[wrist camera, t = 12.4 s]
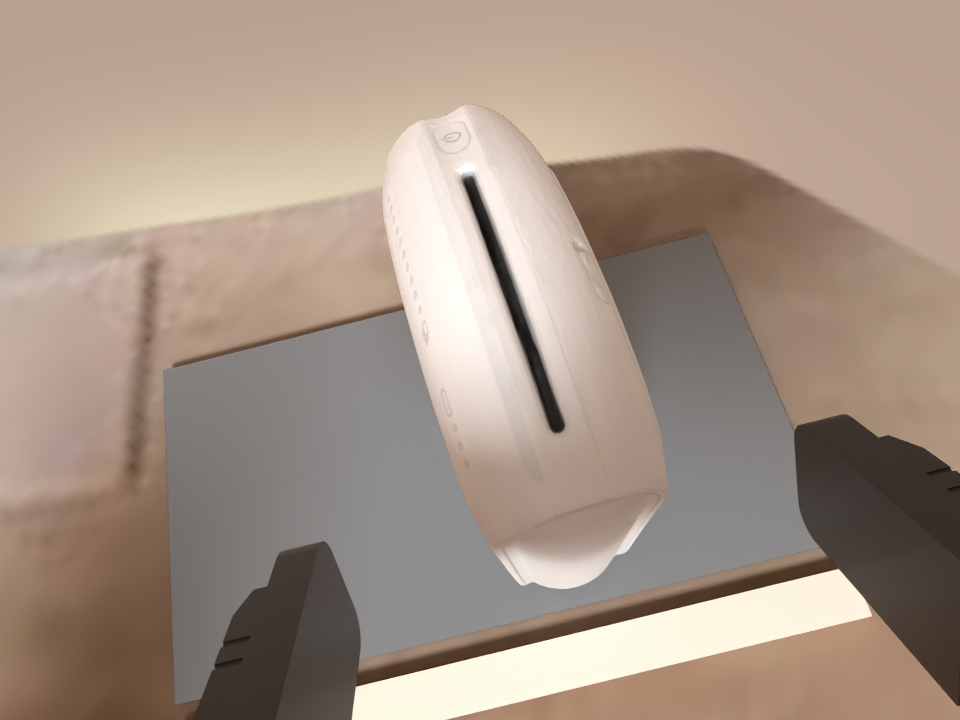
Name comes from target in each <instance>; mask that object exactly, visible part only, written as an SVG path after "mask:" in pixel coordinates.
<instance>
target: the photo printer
mask: <svg viewBox="0 0 960 720" xmlns="http://www.w3.org/2000/svg"><path fill="white" fill-rule="evenodd" d="M382 198H383V214H384V220H385V227H386V232H387V238H388V243H389V247H390V252H391V256H392V260H393V264H394V269H395V273H396V277H397V281H398V285H399V289H400V293H401V297H402V301H403V305H404V308H405V312H406V316H407V319H408V323H409V327H410V330H411V334H412V337H413V341H414V344H415V348H416V351H417V355H418V358H419V362H420V365H421V368H422V372H423V375H424V378H425V382H426V385H427V388H428V391H429V394H430V398H431V401H432V404H433V407H434V411H435V414H436V417H437V420H438V423H439V426H440V429H441V432H442V435H443V438H444V441H445V444H446V447H447V450H448V453H449V456H450V459H451V462H452V465H453V468H454V470H455V473H456V476H457V479H458V482H459V484H460V487H461V489H462V492H463V494H464V497H465V499H466V501H467V504H468V506H469V508H470V510H471V513H472V515H473V516H474V518H475V520H476V522H477V524H478V526H479V527H480V529H481V531H482V533H483V535H484V536H485V538H486V540H487V542H488V543H489V545H490V547H491V548H492V550H493V551H494V553H495V554H496V555H497V557H498V558H499V559H500V561H501V562H502V563H503V565H504V566H505V567H506V569H507V570H508V571H509V573H510V574H511V575H512V576H513V577H514V579H515V580H516V581H517V582H518V583H519V584H520V585H527V584H529V583H532V582H535V583H537V584H539V585H542V586H545V587H548V588H556V589H569V588H574V587H579V586H581V585H584V584H587V583H588V582H590V581H592V580H594V579H595V578H597V577H598V576H599V575H600V574H601V573H602V572H603V571H604V570H605V569H606V567H607V566H608V565H609V563H610V562H611V560H612V559H613V557H614V556H615V555H619V554H623V553H625V552H627V551H628V550H629V548H630V547H631V546H632V544H633V542H634V541H635V539H636V538H637V536H638V535H639V534H640V532H641V531H642V530H643V528H644V527H645V525H646V524H647V523H648V521H649V520H650V519H651V517H652V516H653V515H654V513H655V512H656V511H657V509H658V508H659V506H660V505H661V504H662V502H663V501H664V500H665V498H666V497H667V494H668V482H667V472H666V466H665V460H664V454H663V443H662V437H661V433H660V428H659V425H658V422H657V418H656V415H655V412H654V408H653V405H652V402H651V399H650V396H649V393H648V390H647V387H646V384H645V381H644V378H643V375H642V372H641V370H640V367H639V364H638V361H637V359H636V356H635V353H634V351H633V348H632V346H631V343H630V340H629V337H628V335H627V332H626V330H625V327H624V324H623V322H622V319H621V317H620V314H619V312H618V309H617V307H616V304H615V302H614V299H613V297H612V294H611V292H610V290H609V287H608V285H607V283H606V280H605V278H604V276H603V274H602V271H601V269H600V267H599V264H598V262H597V260H596V257H595V255H594V253H593V250H592V248H591V246H590V244H589V242H588V240H587V237H586V235H585V233H584V231H583V229H582V226H581V224H580V222H579V220H578V218H577V216H576V214H575V212H574V210H573V208H572V206H571V204H570V202H569V200H568V198H567V196H566V194H565V192H564V191H563V189H562V187H561V185H560V183H559V181H558V179H557V177H556V176H555V174H554V172H553V171H552V170H551V169H550V168H549V167H548V166H547V164H546V163H545V161H544V159H543V158H542V156H541V155H540V153H539V152H538V151H537V150H536V148H535V147H534V146H533V144H532V143H531V142H530V141H529V140H528V138H527V137H526V136H525V135H524V134H523V133H522V132H521V131H520V130H519V129H518V128H517V127H516V126H514V125H513V124H512V123H511V122H510V121H509V120H508V119H506V118H505V117H504V116H503V115H501V114H499V113H497V112H495V111H493V110H491V109H488V108H485V107H481V106H478V105H471V104H468V105H463V106H461V107H460V108H458V109H457V110H455V111H453V112H452V113H449V114H447V115H445V116H442V117H438V118H434V119H421V120H419V121H417V122H416V123H414V124H413V125H411V126H410V127H409V128H408V129H407V130H406V131H405V132H404V133H403V134H402V135H401V137H400V138H399V139H398V140H397V142H396V143H395V145H394V147H393V148H392V150H391V152H390V154H389V156H388V159H387V162H386V166H385V173H384V182H383V196H382Z"/></svg>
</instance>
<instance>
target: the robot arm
mask: <svg viewBox="0 0 960 720" xmlns="http://www.w3.org/2000/svg"><path fill="white" fill-rule="evenodd" d="M794 446H795V461H796V476H797V491H798V503H799V509H800V513H801V516H802V519H803V522H804V524H805V526H806V528H807V530H808V532H809V534H810V535H811V537H812V538H813V540H814V541H815V542H816V543H817V544H818V546H819V547H820V548H821V549H822V550H823V551H824V552H825V554H826V555H827V556H828V557H829V558H830V559H831V561H832V562H833V563H834V564H835V565H836V566H837V568H838V569H839V570H840V571H841V572H842V573H843V574H844V576H845V577H846V578H847V579H848V580H849V581H850V583H851V584H852V585H853V586H854V587H855V588H856V589H857V591H858V592H859V593H860V594H861V595H862V596H863V598H864V599H865V600H866V601H867V602H868V603H869V604H870V606H871V607H872V608H873V609H874V610H875V611H876V613H877V614H878V615H879V616H880V617H881V618H882V619H883V621H884V622H885V623H886V624H887V625H888V626H889V628H890V629H891V630H892V631H893V632H894V633H895V634H896V636H897V637H898V638H899V639H900V640H901V641H902V643H903V644H904V645H905V646H906V647H907V648H908V650H909V651H910V652H911V653H912V654H913V655H914V656H915V658H916V659H917V660H918V661H919V662H920V663H921V665H922V666H923V667H924V668H925V669H926V670H927V671H928V673H929V674H930V675H931V676H932V677H933V678H934V680H935V681H936V682H937V683H938V684H939V685H940V686H941V688H942V689H943V690H944V691H945V692H946V693H947V695H948V696H949V697H950V698H951V699H952V700H953V701H954V703H955V704H956V705H957V706H960V473H958V472H957V471H951V469H950V466H948V465H947V464H945V463H944V462H943V461H941V460H940V459H938V458H937V457H936V456H934V455H933V454H931V453H930V452H929V451H927V450H926V449H924V448H922V447H919V446H917V445H914V444H911V443H908V442H906V441H903V440H900V439H898V438H895V437H892V436H889V435H888V436H883V437H879V438H878V437H877V436H876V435H874V434H873V433H872V432H870V431H869V430H868V429H866V428H865V427H864V426H862V425H861V424H860V423H859V422H857V421H856V420H855V419H853V418H852V417H850V416H849V415H846V414H842V415H838V416H834V417H830V418H826V419H822V420H818V421H814V422H810V423H806V424H802V425H798V426H797V427H796V429H795V432H794ZM360 649H361V634H360V626H359V621H358V616H357V613H356V610H355V607H354V604H353V602H352V599H351V597H350V595H349V592H348V590H347V587H346V585H345V582H344V580H343V577H342V575H341V572H340V570H339V567H338V565H337V562H336V560H335V558H334V555H333V553H332V550H331V548H330V547H329V545H328V544H327V543H326V542H325V541H322V542H318V543H314V544H309V545H305V546H301V547H297V548H293V549H289V550H285V551H281V552H280V553H279V554H278V556H277V558H276V561H275V564H274V567H273V570H272V573H271V576H270V579H269V582H268V585H267V586H266V587H262V588H258V589H254V590H253V591H252V592H251V593H250V595H249V596H248V597H247V598H246V600H245V601H244V602H243V603H242V605H241V606H240V607H239V608H238V610H237V611H236V612H235V613H234V615H233V616H232V619H231V621H230V624H229V627H228V629H227V632H226V635H225V637H224V640H223V647H221V648H220V650H219V653H218V656H217V658H216V661H215V664H214V666H215V670H212V671H211V674H210V677H209V679H208V682H207V685H206V687H205V690H204V692H203V695H202V698H201V700H200V703H199V706H198V708H197V711H196V713H195V716H194V719H193V720H352V713H353V705H354V697H355V690H356V682H357V674H358V666H359V658H360Z"/></svg>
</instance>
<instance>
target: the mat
mask: <svg viewBox="0 0 960 720" xmlns="http://www.w3.org/2000/svg"><path fill="white" fill-rule="evenodd" d="M597 262H598V264H599V267H600V269H601V271H602V274H603V276H604V278H605V280H606V283H607V285H608V287H609V290H610V292H611V294H612V297H613V299H614V302H615V304H616V307H617V309H618V312H619V314H620V317H621V319H622V322H623V324H624V327H625V330H626V332H627V335H628V337H629V340H630V343H631V346H632V348H633V351H634V353H635V356H636V359H637V361H638V364H639V367H640V370H641V372H642V375H643V378H644V381H645V384H646V387H647V390H648V393H649V396H650V399H651V402H652V405H653V408H654V412H655V415H656V418H657V422H658V425H659V428H660V433H661V437H662V443H663V454H664V460H665V466H666V472H667V482H668V494H667V497H666V498H665V500H664V501H663V502H662V504H661V505H660V506H659V508H658V509H657V511H656V512H655V513H654V515H653V516H652V517H651V519H650V520H649V521H648V523H647V524H646V525H645V527H644V528H643V530H642V531H641V532H640V534H639V535H638V536H637V538H636V539H635V541H634V542H633V544H632V546H631V547H630V548H629V550H628V551H627V552H625V553H623V554H619V555H615V556H614V557H613V559H612V560H611V562H610V563H609V565H608V566H607V567H606V569H605V570H604V571H603V572H602V573H601V574H600V575H599V576H598V577H597V578H595V579H594V580H592V581H590V582H588V583H587V584H584V585H581V586H579V587H574V588H569V589H556V588H548V587H545V586H542V585H539V584H537V583H535V582H532V583H529V584H527V585H520V584H519V583H518V582H517V581H516V580H515V579H514V577H513V576H512V575H511V574H510V573H509V571H508V570H507V569H506V567H505V566H504V565H503V563H502V562H501V561H500V559H499V558H498V557H497V555H496V554H495V553H494V551H493V550H492V548H491V547H490V545H489V543H488V542H487V540H486V538H485V536H484V535H483V533H482V531H481V529H480V527H479V526H478V524H477V522H476V520H475V518H474V516H473V515H472V513H471V510H470V508H469V506H468V504H467V501H466V499H465V497H464V494H463V492H462V489H461V487H460V484H459V482H458V479H457V476H456V473H455V470H454V468H453V465H452V462H451V459H450V456H449V453H448V450H447V447H446V444H445V441H444V438H443V435H442V432H441V429H440V426H439V423H438V420H437V417H436V414H435V411H434V407H433V404H432V401H431V398H430V394H429V391H428V388H427V385H426V382H425V378H424V375H423V372H422V368H421V365H420V362H419V358H418V355H417V351H416V348H415V344H414V341H413V337H412V334H411V330H410V327H409V323H408V319H407V316H406V312H405V310H401V311H397V312H393V313H389V314H385V315H381V316H377V317H373V318H369V319H365V320H361V321H357V322H353V323H349V324H345V325H341V326H337V327H333V328H329V329H325V330H321V331H318V332H314V333H310V334H306V335H302V336H298V337H294V338H290V339H286V340H282V341H278V342H274V343H270V344H266V345H262V346H258V347H254V348H250V349H246V350H242V351H238V352H235V353H231V354H227V355H223V356H219V357H215V358H211V359H207V360H203V361H199V362H195V363H191V364H187V365H183V366H179V367H175V368H171V369H167V370H163V371H164V400H165V430H166V459H167V489H168V518H169V548H170V577H171V606H172V636H173V665H174V695H175V705H178V704H183V703H187V702H191V701H195V700H199V699H201V698H202V695H203V692H204V690H205V687H206V685H207V682H208V679H209V677H210V674H211V671H212V670H215V666H214V664H215V661H216V658H217V656H218V653H219V650H220V648H221V647H223V640H224V637H225V635H226V632H227V629H228V627H229V624H230V621H231V619H232V616H233V615H234V613H235V612H236V611H237V610H238V608H239V607H240V606H241V605H242V603H243V602H244V601H245V600H246V598H247V597H248V596H249V595H250V593H251V592H252V591H253V590H254V589H258V588H262V587H266V586H267V585H268V582H269V579H270V576H271V573H272V570H273V567H274V564H275V561H276V558H277V556H278V554H279V553H280V552H281V551H285V550H289V549H293V548H297V547H301V546H305V545H309V544H314V543H318V542H322V541H325V542H326V543H327V544H328V545H329V547H330V548H331V550H332V553H333V555H334V558H335V560H336V562H337V565H338V567H339V570H340V572H341V575H342V577H343V580H344V582H345V585H346V587H347V590H348V592H349V595H350V597H351V599H352V602H353V604H354V607H355V610H356V613H357V616H358V621H359V626H360V634H361V649H360V658H359V660H363V659H367V658H371V657H375V656H379V655H383V654H387V653H391V652H395V651H400V650H404V649H408V648H412V647H416V646H420V645H424V644H428V643H432V642H436V641H440V640H444V639H449V638H453V637H457V636H461V635H465V634H469V633H473V632H477V631H481V630H485V629H489V628H494V627H498V626H502V625H506V624H510V623H514V622H518V621H522V620H526V619H530V618H534V617H538V616H543V615H547V614H551V613H555V612H559V611H563V610H567V609H571V608H575V607H579V606H583V605H587V604H592V603H596V602H600V601H604V600H608V599H612V598H616V597H620V596H624V595H628V594H632V593H637V592H641V591H645V590H649V589H653V588H657V587H661V586H665V585H669V584H673V583H677V582H681V581H686V580H690V579H694V578H698V577H702V576H706V575H710V574H714V573H718V572H722V571H726V570H730V569H735V568H739V567H743V566H747V565H751V564H755V563H759V562H763V561H767V560H771V559H775V558H780V557H784V556H788V555H792V554H796V553H800V552H804V551H808V550H812V549H816V548H820V547H819V546H818V544H817V543H816V542H815V541H814V540H813V538H812V537H811V535H810V534H809V532H808V530H807V528H806V526H805V524H804V522H803V519H802V516H801V513H800V509H799V503H798V491H797V476H796V461H795V446H794V431H793V428H792V426H791V424H790V421H789V419H788V417H787V414H786V412H785V410H784V407H783V405H782V403H781V400H780V398H779V396H778V393H777V391H776V389H775V387H774V384H773V382H772V380H771V377H770V375H769V373H768V370H767V368H766V366H765V363H764V361H763V359H762V356H761V354H760V352H759V350H758V347H757V345H756V343H755V340H754V338H753V336H752V333H751V331H750V329H749V326H748V324H747V322H746V319H745V317H744V315H743V312H742V310H741V308H740V306H739V303H738V301H737V299H736V296H735V294H734V292H733V289H732V287H731V285H730V282H729V280H728V278H727V275H726V273H725V271H724V269H723V266H722V264H721V262H720V259H719V257H718V255H717V252H716V250H715V248H714V245H713V243H712V241H711V238H710V236H709V234H708V233H705V234H701V235H697V236H693V237H689V238H685V239H681V240H677V241H673V242H669V243H666V244H662V245H658V246H654V247H650V248H646V249H642V250H638V251H634V252H630V253H626V254H622V255H618V256H614V257H610V258H606V259H602V260H598V261H597ZM870 616H872V614H871V612H870V610H869V607H868V605H867V603H866V600H865V599H864V598H863V596H862V595H861V594H860V593H859V592H858V591H857V589H856V588H855V587H854V586H853V585H852V584H851V583H850V581H849V580H848V579H847V578H846V577H845V576H844V574H843V573H842V572H841V571H840V570H839V569H837V570H832V571H828V572H824V573H820V574H816V575H812V576H808V577H804V578H800V579H796V580H791V581H787V582H783V583H779V584H775V585H771V586H767V587H763V588H759V589H755V590H750V591H746V592H742V593H738V594H734V595H730V596H726V597H722V598H718V599H714V600H710V601H705V602H701V603H697V604H693V605H689V606H685V607H681V608H677V609H673V610H669V611H664V612H660V613H656V614H652V615H648V616H644V617H640V618H636V619H632V620H628V621H624V622H619V623H615V624H611V625H607V626H603V627H599V628H595V629H591V630H587V631H583V632H578V633H574V634H570V635H566V636H562V637H558V638H554V639H550V640H546V641H542V642H537V643H533V644H529V645H525V646H521V647H517V648H513V649H509V650H505V651H501V652H497V653H492V654H488V655H484V656H480V657H476V658H472V659H468V660H464V661H460V662H456V663H451V664H447V665H443V666H439V667H435V668H431V669H427V670H423V671H419V672H415V673H411V674H406V675H402V676H398V677H394V678H390V679H386V680H382V681H378V682H374V683H370V684H365V685H361V686H357V687H356V690H355V697H354V705H353V713H352V720H446V719H450V718H454V717H458V716H463V715H467V714H471V713H475V712H479V711H483V710H487V709H491V708H495V707H500V706H504V705H508V704H512V703H516V702H520V701H524V700H528V699H533V698H537V697H541V696H545V695H549V694H553V693H557V692H561V691H565V690H570V689H574V688H578V687H582V686H586V685H590V684H594V683H598V682H603V681H607V680H611V679H615V678H619V677H623V676H627V675H631V674H635V673H640V672H644V671H648V670H652V669H656V668H660V667H664V666H668V665H673V664H677V663H681V662H685V661H689V660H693V659H697V658H701V657H706V656H710V655H714V654H718V653H722V652H726V651H730V650H734V649H738V648H743V647H747V646H751V645H755V644H759V643H763V642H767V641H771V640H776V639H780V638H784V637H788V636H792V635H796V634H800V633H804V632H808V631H813V630H817V629H821V628H825V627H829V626H833V625H837V624H841V623H846V622H850V621H854V620H858V619H862V618H866V617H870Z"/></svg>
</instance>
